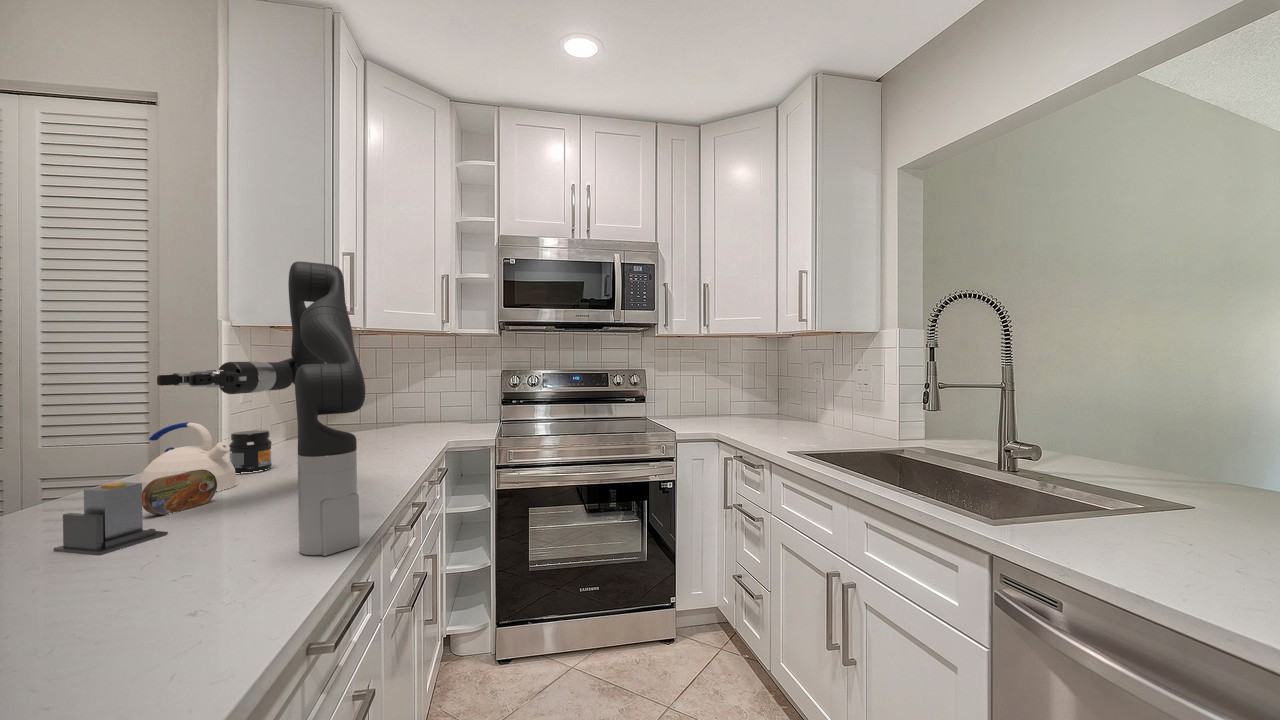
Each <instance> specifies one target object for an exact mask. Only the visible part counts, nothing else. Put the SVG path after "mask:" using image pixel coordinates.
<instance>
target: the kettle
mask: <svg viewBox="0 0 1280 720" xmlns="http://www.w3.org/2000/svg"><path fill="white" fill-rule="evenodd" d="M182 428H191V429H194V430H196V431H197V432H198V433H199V434H200V436H201V440H202V445H188V446H186V445H185V446H181V447H180V446H179V447H175V448H174V447H167V448H166V449H165V450H164V452H163V453H162V454H160V455H158V456H157V457H156V458H154V459H152V461H151V462H150V463H149V464H148V465H147V466H146V467H145V468H144V469H143V471H142V473H141V474H140V477H139V478H138V480H137V481H138V482H137V483H142V492H143V490H144V488H145V487H146V486H147V485H148V484H149V483H150V482H151V481H153V480H155V479H157V478H161V477H166V476H171V475H175V474H180V473H184V472H188V471H194V470H207V471H210V472H211V473H212V474H213V475H214V476H215V478H216V480H217V489H216V491H219V490H223V489H227V488H229V487H232V486H234V485H235V484H236V482H237V476H236V475H237V474H235V468H234V466H233V464H232V463H231V461H230V458H228V457H227V456H226V454H227V453H230V447H229V445H230V444H229V445H228V444H227V443H225V442H223V441H220V442H217V444H215V446H214V447H213V438H212V434H211V433H210V431H209V430H208V429H207V428H206V427H205V426H204V425H202V424H200V423H195V422H190V421H188V422H187V421H186V422H180V423H175V424H172V425H168V426H166V427H163V428H161V429H160V430H158V431H156V432H155V433H154V434H152V435H151V436H150V437H148V440H149V441H151V442H152V441H159V439H161V438H162V436H164V435H165V434H168V433H170V432H172V431H175V430H178V429H182ZM237 483H238V482H237ZM234 487H235V486H234ZM232 488H233V487H232ZM227 490H228V489H227Z"/></svg>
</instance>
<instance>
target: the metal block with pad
mask: <svg viewBox="0 0 1280 720" xmlns="http://www.w3.org/2000/svg"><path fill="white" fill-rule="evenodd" d="M83 514H92V515H103V542H106V541H110V540H113V539H117V538H120V537H124V536H127V535H131V534H134V533H138V532H141V531H143V530H144V529H143V525H144V524H143V506H142V483H138V482H129V481H128V482H126V481H125V482H124V481H123V482H122V481H121V482H110V483H106V484H100V486H96V487H91V488H86V489H83Z"/></svg>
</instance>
